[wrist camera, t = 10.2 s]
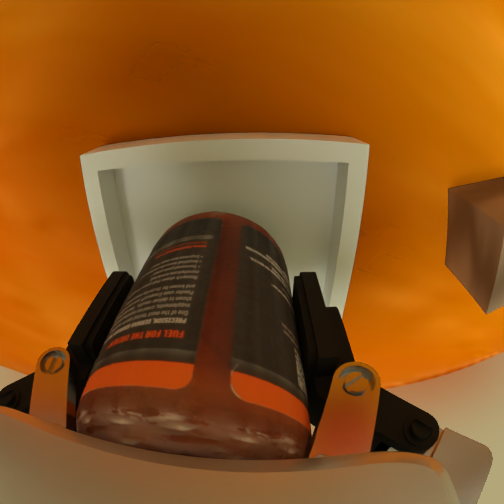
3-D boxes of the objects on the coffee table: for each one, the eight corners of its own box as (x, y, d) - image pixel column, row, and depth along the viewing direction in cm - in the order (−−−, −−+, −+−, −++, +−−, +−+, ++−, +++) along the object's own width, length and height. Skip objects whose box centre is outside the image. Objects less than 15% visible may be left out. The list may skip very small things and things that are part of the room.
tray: (104, 145, 12) (79, 155, 10) (351, 136, 12) (369, 144, 10) (145, 327, 18) (134, 353, 16) (325, 330, 17) (331, 357, 15)
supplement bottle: (133, 272, 13) (31, 503, 3) (206, 176, 11) (53, 542, 1) (230, 335, 15) (213, 555, 5) (314, 264, 13) (378, 548, 3)
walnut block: (447, 188, 13) (504, 227, 8) (502, 176, 12) (557, 208, 8) (444, 263, 15) (486, 314, 11) (496, 245, 14) (539, 286, 10)
